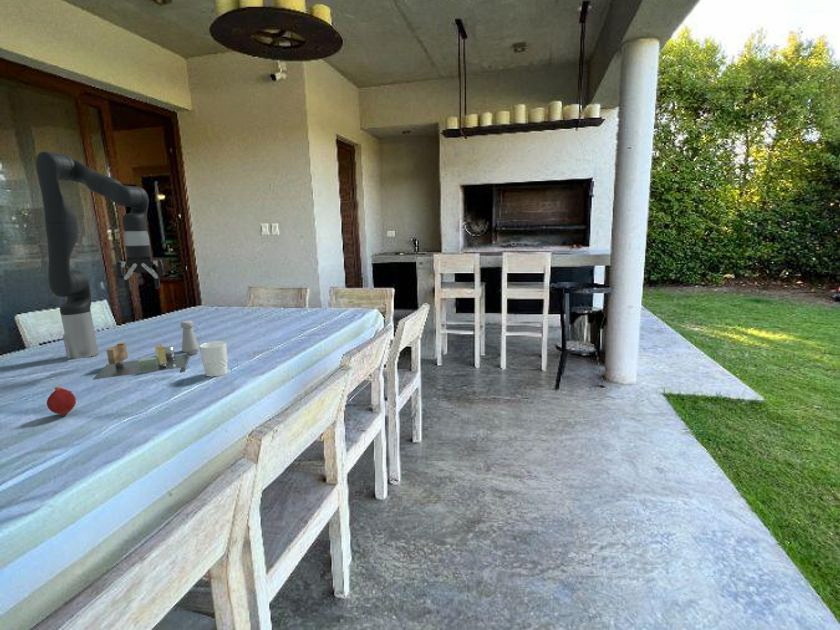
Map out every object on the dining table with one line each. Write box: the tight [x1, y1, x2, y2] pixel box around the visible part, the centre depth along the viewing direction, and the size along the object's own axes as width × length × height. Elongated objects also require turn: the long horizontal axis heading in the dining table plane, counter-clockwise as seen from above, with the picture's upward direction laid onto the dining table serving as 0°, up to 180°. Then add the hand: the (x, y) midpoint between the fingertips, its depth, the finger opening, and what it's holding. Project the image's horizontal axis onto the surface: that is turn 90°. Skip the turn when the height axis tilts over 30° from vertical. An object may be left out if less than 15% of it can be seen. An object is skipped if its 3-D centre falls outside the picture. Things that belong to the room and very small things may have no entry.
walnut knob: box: [106, 342, 129, 367], centre depth 151 cm, size 7×2×7 cm, turn 2°
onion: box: [46, 386, 77, 417], centre depth 115 cm, size 6×6×8 cm
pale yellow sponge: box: [154, 344, 167, 367], centre depth 149 cm, size 7×2×7 cm, turn 38°
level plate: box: [91, 345, 191, 380], centre depth 152 cm, size 26×18×6 cm
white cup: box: [199, 340, 229, 378], centre depth 144 cm, size 8×8×10 cm
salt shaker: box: [180, 320, 200, 356], centre depth 169 cm, size 6×6×13 cm
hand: (143, 289), depth 161 cm, fingers open, 8 cm apart
